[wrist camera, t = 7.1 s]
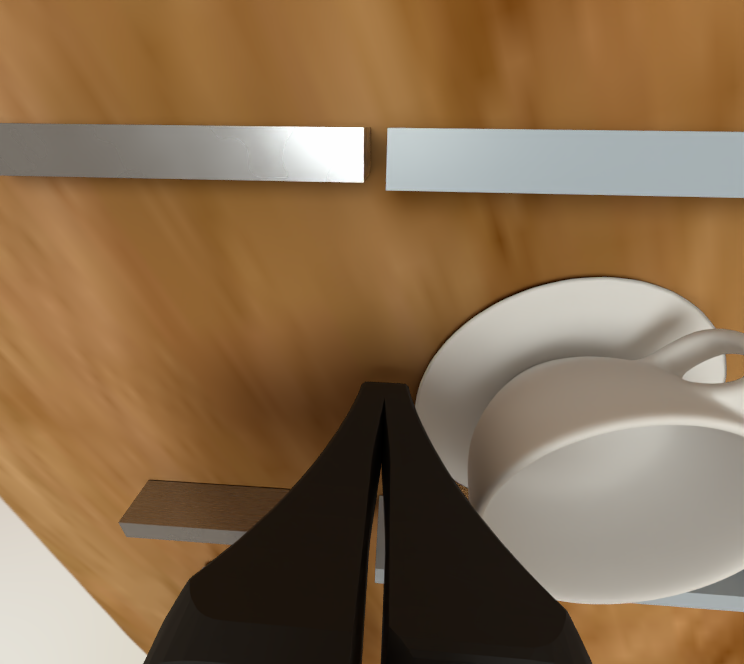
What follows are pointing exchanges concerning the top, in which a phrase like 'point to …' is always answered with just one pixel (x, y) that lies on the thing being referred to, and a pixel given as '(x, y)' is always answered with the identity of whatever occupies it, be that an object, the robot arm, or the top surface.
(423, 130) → the blue-gray u-shaped frame
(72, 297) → the top surface
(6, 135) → the slot rails
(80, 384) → the top surface
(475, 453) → the teacup
